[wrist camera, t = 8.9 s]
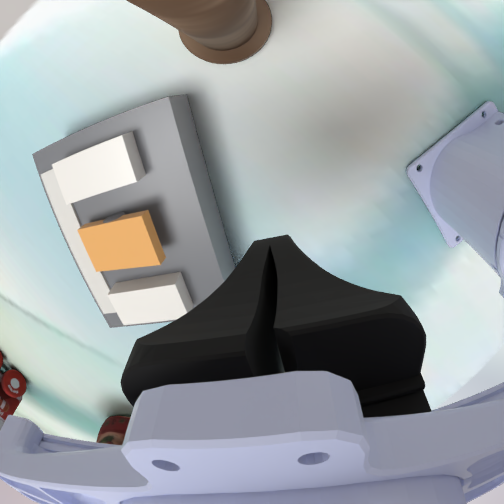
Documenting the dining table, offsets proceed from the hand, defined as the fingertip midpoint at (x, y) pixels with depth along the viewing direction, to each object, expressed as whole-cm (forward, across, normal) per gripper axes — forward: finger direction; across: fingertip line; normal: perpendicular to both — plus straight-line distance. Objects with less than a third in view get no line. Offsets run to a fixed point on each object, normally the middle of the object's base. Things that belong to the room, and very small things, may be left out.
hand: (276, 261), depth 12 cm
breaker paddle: (+6, +9, 0) cm, 11 cm away
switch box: (+11, +9, 0) cm, 14 cm away
